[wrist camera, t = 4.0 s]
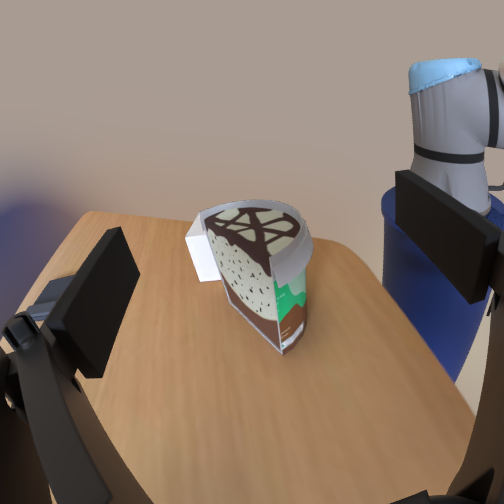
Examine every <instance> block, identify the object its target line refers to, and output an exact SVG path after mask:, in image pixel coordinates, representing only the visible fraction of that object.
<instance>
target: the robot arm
mask: <svg viewBox="0 0 504 504" xmlns="http://www.w3.org/2000/svg"><path fill="white" fill-rule="evenodd" d="M481 67H482V64H481V63H480V61H479V60H478V59H476V58H451V59H438V60H429V61H422V62H417V63H414V64H413V65H412V66H411V67H410V69H409V89H410V91H409V95H410V97H411V107H412V119H413V134H414V159H413V163H412V166H411V169H410V170H402V171H396V172H395V182H396V183H395V185H396V218H395V224H396V225H397V226H398V227H399V228H400V229H401V230H402V231H403V232H404V233H405V234H406V235H407V236H408V237H409V238H410V239H411V240H412V241H413V242H414V243H415V244H416V245H417V246H418V247H419V248H420V249H421V250H422V251H423V252H424V253H425V254H426V255H427V256H428V258H429V259H430V260H431V261H432V262H433V263H434V264H435V265H436V266H437V267H438V268H439V270H440V271H441V272H442V273H443V274H444V275H445V276H446V277H447V278H448V280H449V281H450V282H451V283H452V284H453V285H454V287H455V288H456V289H457V290H458V291H459V292H460V294H461V295H462V296H463V297H464V298H465V300H466V301H467V302H468V303H469V304H470V305H471V304H474V303H476V302H479V301H482V300H484V299H485V296H486V293H487V290H488V286H490V287H491V288H492V289H493V290H494V294H493V297H492V301H491V304H490V307H489V310H488V312H487V316H489V315H490V312H491V324H490V336H489V346H488V354H487V362H486V369H485V375H484V382H483V387H482V392H481V397H480V402H479V407H478V411H477V416H476V420H475V424H474V428H473V431H472V435H471V439H470V442H469V446H468V449H467V452H466V455H465V458H464V461H463V464H462V466H461V468H460V470H459V472H458V473H457V475H456V476H455V478H454V480H453V482H452V483H451V485H450V487H449V489H448V492H447V494H446V495H435V496H429V495H428V492H427V490H424V491H422V492H419V493H417V494H415V495H412V496H409V497H407V498H404V499H401V500H399V501H396V502H393V503H390V504H504V231H503V230H501V229H500V228H499V227H497V226H496V225H495V224H493V223H492V222H491V223H490V221H489V220H488V219H487V218H488V217H489V215H490V208H491V197H490V194H489V192H488V191H500V190H504V183H503V185H501V186H488V182H487V176H486V172H485V167H484V149H485V147H493V148H499V149H504V56H503V57H502V59H501V60H500V63H499V71H495V70H487V69H481ZM139 277H140V272H139V270H138V268H137V265H136V263H135V261H134V258H133V256H132V254H131V251H130V249H129V246H128V244H127V241H126V239H125V236H124V234H123V231H122V229H121V226H120V227H116V228H112V229H109V230H107V231H106V232H105V233H104V235H103V236H102V237H101V239H100V240H99V242H98V243H97V244H96V246H95V247H94V248H93V250H92V251H91V253H90V254H89V255H88V257H87V258H86V260H85V261H84V263H83V264H82V266H81V267H80V268H79V270H78V271H77V273H76V274H75V276H74V277H73V279H72V280H71V282H70V283H69V285H68V286H67V288H66V290H65V291H64V292H63V293H62V294H61V295H60V296H59V298H58V299H57V301H56V302H55V304H54V306H53V307H52V309H51V311H50V312H49V314H48V315H47V317H46V319H45V320H44V322H43V324H42V326H41V327H40V329H39V328H38V326H37V325H36V323H35V322H34V320H33V319H32V317H31V316H30V314H29V313H28V312H26V311H23V312H20V313H18V314H16V315H14V316H13V317H12V318H10V319H9V320H8V321H7V323H6V324H5V325H4V327H3V329H2V334H3V336H4V337H5V339H6V340H7V341H8V343H9V344H10V345H11V347H12V348H13V349H14V352H11V353H9V354H6V353H5V352H4V350H3V349H2V348H1V346H0V504H52V500H51V495H50V489H49V485H50V488H51V490H52V493H53V495H54V497H55V500H56V502H57V504H154V503H153V502H152V501H151V499H150V498H149V497H148V495H147V494H146V493H145V491H144V490H143V489H142V487H141V486H140V485H139V483H138V482H137V480H136V479H135V477H134V476H133V475H132V473H131V472H130V470H129V469H128V467H127V466H126V464H125V463H124V461H123V460H122V458H121V456H120V455H119V453H118V452H117V450H116V449H115V447H114V445H113V444H112V442H111V440H110V439H109V437H108V435H107V433H106V432H105V430H104V428H103V427H102V425H101V423H100V421H99V419H98V417H97V416H96V414H95V412H94V410H93V408H92V406H91V404H90V402H89V400H88V398H87V396H86V394H85V392H84V390H83V388H82V386H81V384H80V382H79V381H78V380H77V378H76V377H75V373H76V370H77V368H78V369H79V370H80V372H81V373H82V374H83V375H84V377H85V378H103V374H104V371H105V368H106V365H107V362H108V359H109V356H110V353H111V350H112V348H113V345H114V342H115V339H116V336H117V333H118V331H119V328H120V325H121V323H122V320H123V317H124V314H125V312H126V309H127V307H128V304H129V301H130V299H131V296H132V294H133V291H134V289H135V286H136V284H137V281H138V279H139ZM5 397H6V398H7V399H8V400H9V401H10V402H11V403H12V405H11V408H10V407H9V405H8V404H7V401H6V399H5Z"/></svg>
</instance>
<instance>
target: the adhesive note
mask: <svg viewBox="0 0 504 504" xmlns="http://www.w3.org/2000/svg"><path fill="white" fill-rule="evenodd" d="M185 239H186V242H187V245H188V248H189V251H190V254H191V257H192V260H193V263H194V266H195V269H196V271H197V274H198V277H199V280H200V282H203V281H214V280H221V277H220V274H219V271H218V268H217V265H216V262H215V259H214V256H213V254H212V251H211V248H210V245H209V242H208V239H207V236H206V233H205V230H204V231H203V230H202V225H201V221H200V214H198V216H197V218H196V219H195V221H194V223H193V224H192V226H191V228H190V229H189V231H188V233H187V235H186V236H185Z"/></svg>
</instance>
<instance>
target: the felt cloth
mask: <svg viewBox="0 0 504 504" xmlns="http://www.w3.org/2000/svg"><path fill="white" fill-rule="evenodd" d="M74 276H75V275H72V276H68V277H64V278H59V279H55V280H51V281H49V283H48V284H47V285H46V287H45V288H44V290H43V291H42V293H41V294H40V296H39V297H38V298H37V300H36V301H35V303H34V304H33V305H32V306H29V307H28V308H27V310H26V312H28V313H29V314H30V316H31V317H32V319H33V320H34V321H40V320H45V319H46V317H47V315H48V314H49V312H50V311H51V309H52V307H53V306H54V304H55V302H56V301H57V299H58V298H59V296H60V295H61V294H62V293H63V292H64V291H65V290H66V288H67V286H68V285H69V283H70V282H71V280H72V279H73V277H74Z"/></svg>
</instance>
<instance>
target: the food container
mask: <svg viewBox="0 0 504 504" xmlns="http://www.w3.org/2000/svg"><path fill="white" fill-rule="evenodd" d="M199 214H200V221H201V225H202V230H203V231H204V230H205V233H206V236H207V239H208V242H209V245H210V248H211V251H212V254H213V256H214V259H215V262H216V265H217V268H218V271H219V274H220V277H221V280H222V283H223V285H224V288H225V291H226V294H227V297H228V300H229V302H230V304H231V305H232V306H233V307H234V308H235V309H236V310H237V311H238V312H239V313H240V314H241V315H242V316H243V317H244V318H245V319H246V320H247V321H248V322H249V323H250V324H251V325H252V326H253V327H254V328H255V329H256V330H257V331H258V332H259V333H260V334H261V335H262V336H263V337H264V338H265V339H266V340H267V341H268V342H269V343H270V344H271V345H272V346H273V347H274V348H275V349H277V350H278V351H279V352H280V353H281V354H282V355H284V354H285V353H287V352H288V351H289V350H291V349H292V348H293V347H294V346H295V345H296V343H297V342H298V341H299V340H300V338H301V337H302V336H303V333H304V329H305V326H306V268H305V267H306V266H307V264H308V262H309V260H310V259H311V256H312V253H313V241H312V238H311V235H310V233H309V230H308V227H307V224H306V222H305V221H304V219H303V218H302V217H301V214H300V213H299V212H298V211H297V210H296V209H294V208H293V207H292V206H290V205H288V204H285V203H281V202H278V201H272V200H244V201H236V202H230V203H225V204H222V205H218V206H214V207H211V208H208V209H206V210H203V211H200V212H199Z"/></svg>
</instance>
